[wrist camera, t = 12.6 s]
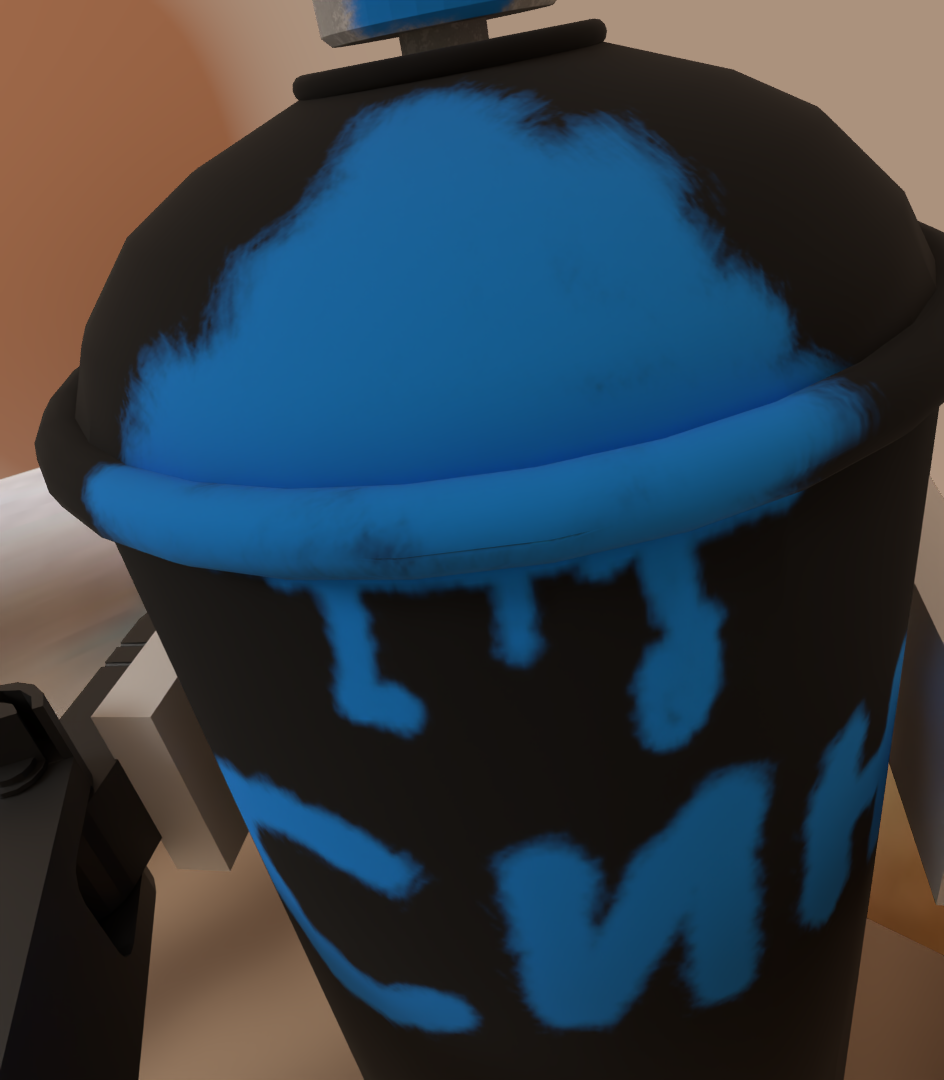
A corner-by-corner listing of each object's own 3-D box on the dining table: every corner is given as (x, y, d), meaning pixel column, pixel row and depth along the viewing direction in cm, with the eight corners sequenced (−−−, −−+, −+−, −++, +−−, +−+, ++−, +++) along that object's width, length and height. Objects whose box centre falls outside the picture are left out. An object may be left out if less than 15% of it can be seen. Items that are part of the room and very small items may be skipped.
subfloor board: (-49, 950, 24) (-67, 930, 23) (312, 664, 32) (305, 644, 31) (969, 2416, 8) (985, 2456, 7) (1155, 1090, 16) (1169, 1065, 16)
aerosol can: (405, 944, 19) (40, -94, 9) (747, 889, 19) (766, -243, 9) (401, 1449, 12) (-1191, -588, 2) (942, 1374, 12) (2095, -1352, 2)
